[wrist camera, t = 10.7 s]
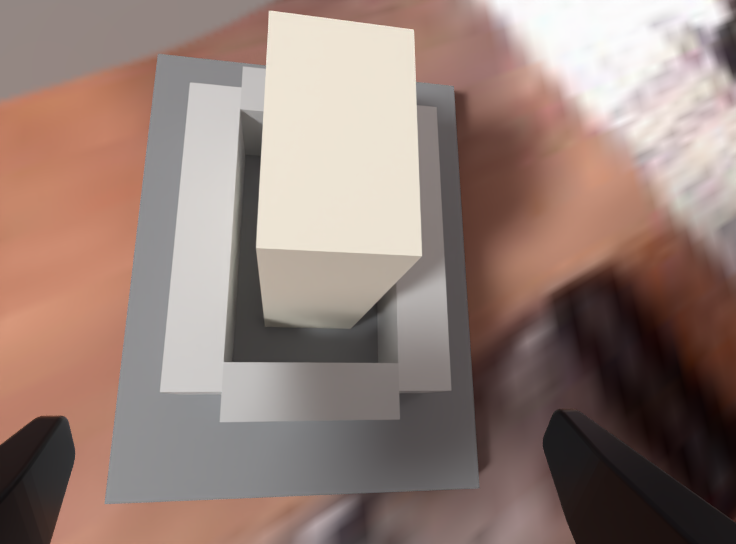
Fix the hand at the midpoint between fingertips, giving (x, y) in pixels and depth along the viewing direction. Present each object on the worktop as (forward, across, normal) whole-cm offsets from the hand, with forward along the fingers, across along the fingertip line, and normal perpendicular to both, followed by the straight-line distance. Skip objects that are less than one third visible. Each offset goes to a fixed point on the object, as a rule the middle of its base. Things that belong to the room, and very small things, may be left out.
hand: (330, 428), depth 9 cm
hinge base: (+10, 0, +2) cm, 11 cm away
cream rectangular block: (+10, 0, +2) cm, 10 cm away
